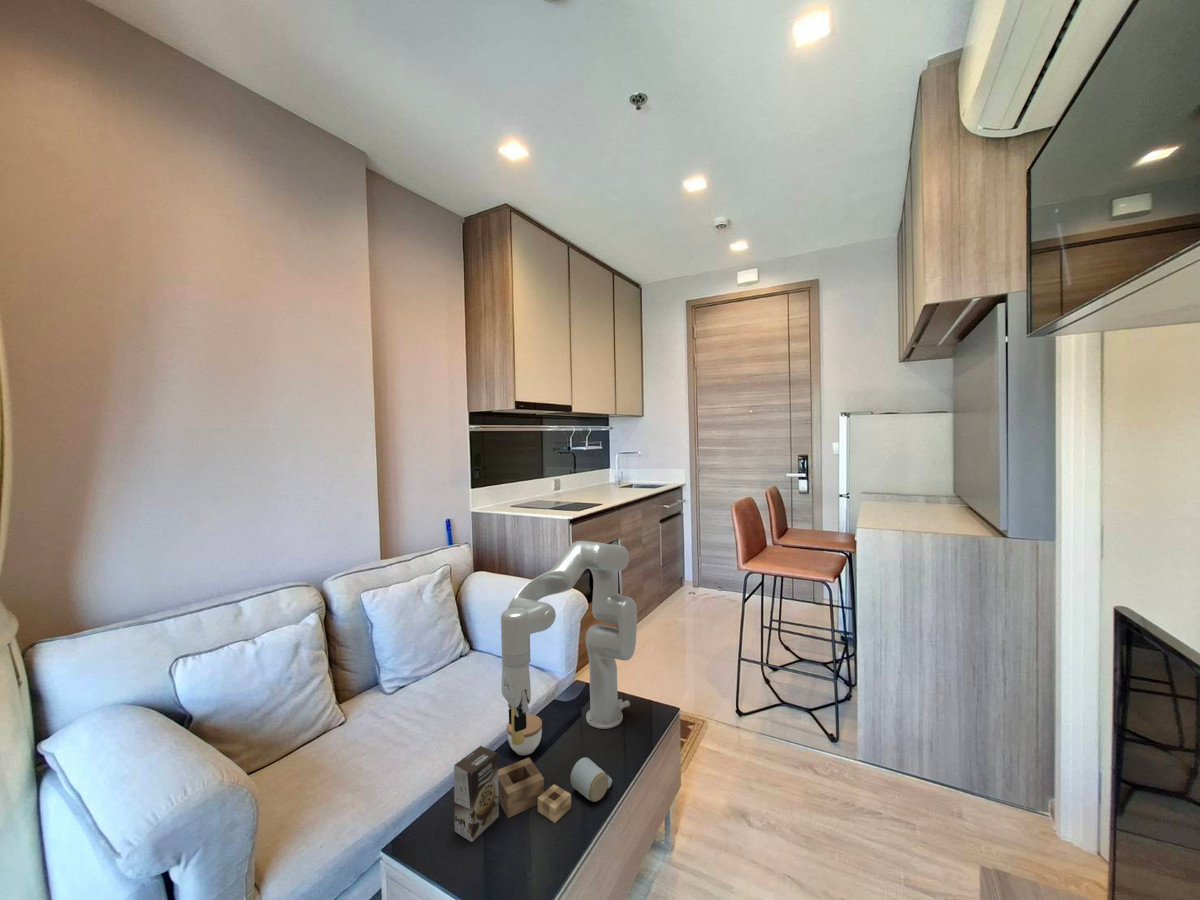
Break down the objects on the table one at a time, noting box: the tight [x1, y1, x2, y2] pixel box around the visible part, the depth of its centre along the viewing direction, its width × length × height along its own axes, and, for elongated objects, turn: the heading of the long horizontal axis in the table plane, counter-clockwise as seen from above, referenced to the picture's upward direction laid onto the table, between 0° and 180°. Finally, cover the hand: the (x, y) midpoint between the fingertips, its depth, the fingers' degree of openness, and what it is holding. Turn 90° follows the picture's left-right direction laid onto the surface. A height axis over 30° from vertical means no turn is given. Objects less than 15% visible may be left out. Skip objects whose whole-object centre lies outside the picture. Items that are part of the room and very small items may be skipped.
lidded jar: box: [506, 713, 543, 756], centre depth 141 cm, size 11×11×9 cm
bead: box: [498, 757, 545, 819], centre depth 121 cm, size 10×10×6 cm
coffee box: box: [453, 745, 500, 843], centre depth 112 cm, size 9×6×16 cm
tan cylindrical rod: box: [510, 701, 524, 745], centre depth 121 cm, size 3×3×14 cm
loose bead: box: [537, 784, 572, 824], centre depth 116 cm, size 6×6×4 cm
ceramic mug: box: [569, 756, 613, 803], centre depth 122 cm, size 11×8×8 cm
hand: (517, 725), depth 121 cm, fingers closed on tan cylindrical rod, 3 cm apart
